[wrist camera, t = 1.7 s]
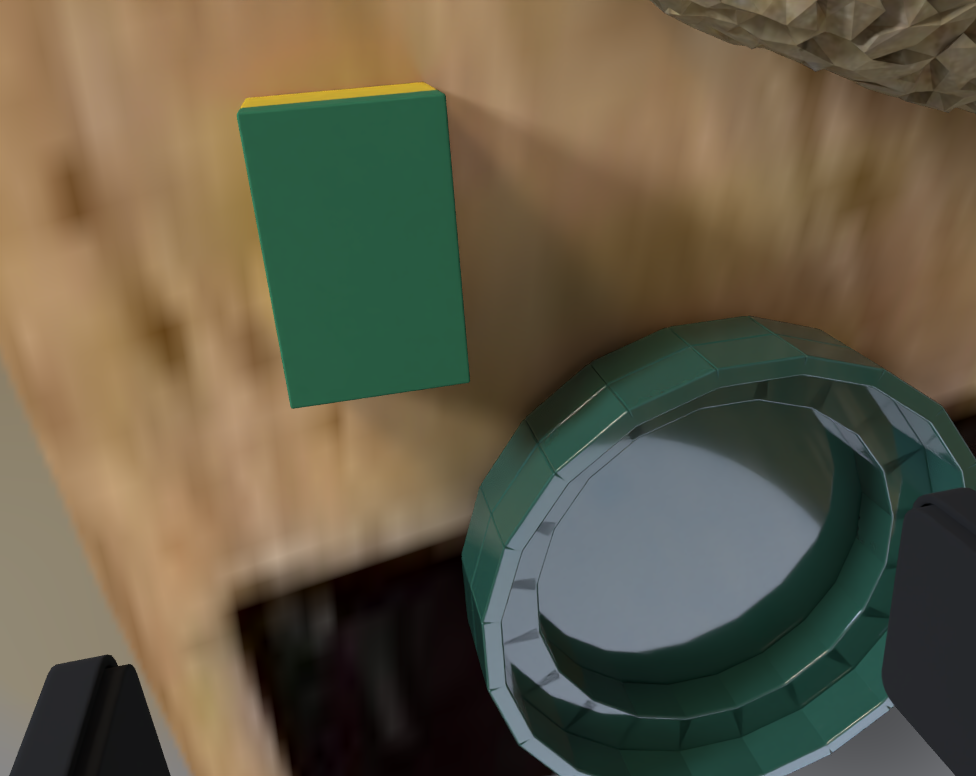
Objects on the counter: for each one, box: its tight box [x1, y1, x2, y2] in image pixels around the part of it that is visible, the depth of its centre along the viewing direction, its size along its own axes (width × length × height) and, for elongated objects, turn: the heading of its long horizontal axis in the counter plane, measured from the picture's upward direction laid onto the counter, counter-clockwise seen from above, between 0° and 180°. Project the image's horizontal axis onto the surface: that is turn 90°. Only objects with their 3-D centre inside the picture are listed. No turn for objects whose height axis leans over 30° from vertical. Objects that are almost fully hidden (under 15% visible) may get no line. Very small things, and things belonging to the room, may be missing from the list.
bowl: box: [462, 316, 976, 776], centre depth 28 cm, size 16×16×4 cm
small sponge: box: [237, 82, 470, 409], centre depth 21 cm, size 7×4×4 cm, turn 5°
